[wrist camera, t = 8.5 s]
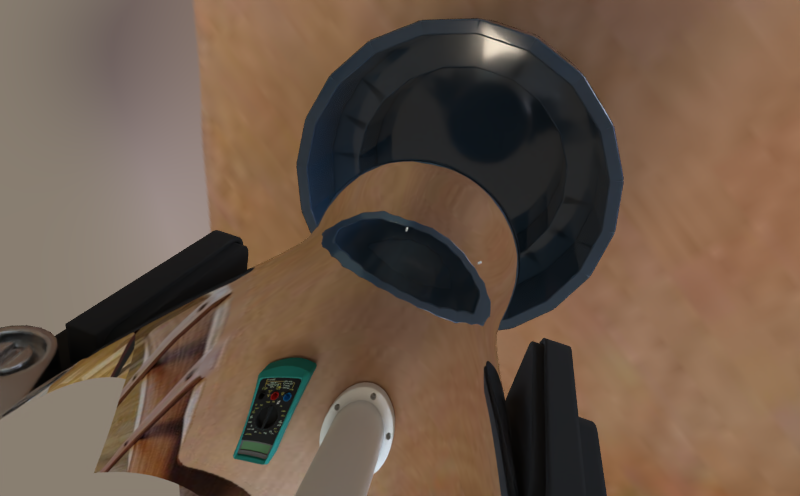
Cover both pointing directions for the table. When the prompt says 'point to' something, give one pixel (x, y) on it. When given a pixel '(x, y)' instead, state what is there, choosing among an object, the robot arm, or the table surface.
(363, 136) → the dark blue bowl
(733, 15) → the table surface
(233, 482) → the silver metal tumbler
